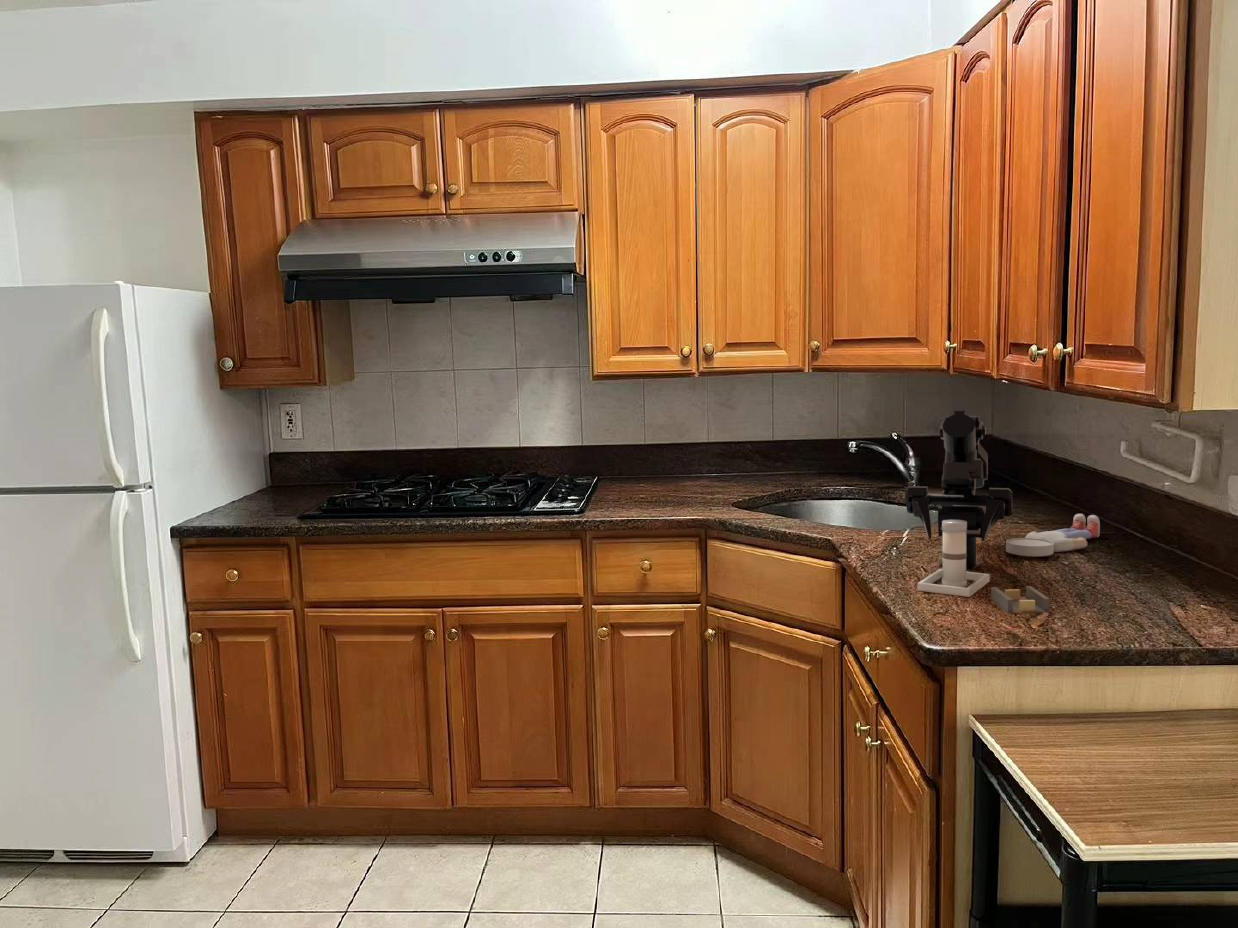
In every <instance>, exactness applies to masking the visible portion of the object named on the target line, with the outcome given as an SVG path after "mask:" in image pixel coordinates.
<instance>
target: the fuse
mask: <svg viewBox="0 0 1238 928" xmlns="http://www.w3.org/2000/svg"><path fill="white" fill-rule="evenodd" d="M942 530H943V536H942V553H941V554H942V555H941V557H942V563H943V567H942V569H943V577H941V585H946V586H954V587H963V588H967V587H968V585H967V584H968V580H967V579H966V572H967V569H966V558H967V552H966V531H967V521H964V520H944V521H942Z"/></svg>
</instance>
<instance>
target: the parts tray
mask: <svg viewBox="0 0 1238 928" xmlns="http://www.w3.org/2000/svg"><path fill="white" fill-rule="evenodd" d="M942 578H943V568H939V569H937V570H935V571H934V572H933V573H931V574H929V575H927V576H926V577H924V579H922V580H920V581H918V582H917V585H916V586H917V591H919V592H927V593H934V594H941V595H942V594H944V595H951V596H960V597H967V598H968V597H969V598H970V597H971V596H972V595H973V594H975V593H977V591H979V590H980V589H982V588H983V587H984V586H985V585H987V584H988V583H990V579H991V575H990V573H983V572H982V573H981V572H973V571H966V579H967V581H974V582H972V583H971V584H970V585H969V586H967V587H966V588H963V587H954V586H946V585H942V584H936V583H935V582H936V581H938V580H940V579H942Z"/></svg>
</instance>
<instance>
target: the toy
mask: <svg viewBox="0 0 1238 928" xmlns="http://www.w3.org/2000/svg"><path fill="white" fill-rule="evenodd" d="M1086 523H1087V525H1086ZM1100 523H1101V522H1100V518H1099V517H1098V516H1097V515H1096V514H1095V515H1094V514H1091V515H1088V516H1087V517H1086V516H1085V514H1083V513H1076V514H1075V515H1074V516H1073V520H1072V526H1070V527H1069V528H1061V529H1059V528H1058V529H1056V530H1049V531H1048V530H1047V531H1046V530H1045V531H1040V532H1037V531H1035V530H1034V531H1030V532H1029V533H1027V534H1026V536H1025V537H1015V538H1009V539H1007V540H1005V552H1007V553H1008V554H1011V555H1015V556H1016V555H1017V556H1024V557H1048V556H1052V555H1053V554H1054V553H1060V552H1069V551H1073V550H1080V549H1084V548H1086V547H1088V541H1087V540H1090V539H1094V538H1095V539H1097V538H1099V536H1100V530H1101V524H1100ZM1096 537H1097V538H1096Z"/></svg>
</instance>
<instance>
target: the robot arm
mask: <svg viewBox="0 0 1238 928" xmlns="http://www.w3.org/2000/svg"><path fill="white" fill-rule="evenodd" d="M953 412H954V413H953V415H949V416H948V415H947V416H946V417H945V418H944V419H945V420H944V421H941V424H940V428H939V436H940V437H939V438H940V439H941V440H943V448H944V450H945V456H944V462H943V466H942V467H943V468H942V476H941V486H940V487H941V490H942V493H929V487H928V486H920V485H919V486H918V485H917V486H915V485H914V486H910V485H909V486H908V487H907V488H906V489H905V494H904V501H905V507H906V512H907V513H909V514H913V517H915V518H920V519H919V520H920V521H921V523H922V524H923V527H924V529H925V532H926V537H928V540H931V539H932V524H931V513H930V505H938V508H937V528H938V529H937V534H938V537H943V530H942V521H944V520H964V521H967V531H966V552H967V558H966V571H967V570H968V571H973V570H975V569H976V568H978V567H979V566H982V564H983V561H982V560H977V538H978V539H979V538H980V539H981V542H985V541H986V539H987V537H988V535H989V533H990V532H991V530H992V528H994V526H995V525H996V524H997V522H998V521H1000V520H1005V517H1010V516H1012V515H1013V491H1012V490H1011V489H1010V488H1009V487H1006V488H1004V487H989V489H988V495H980V494H979V492H978V491H976V490H977V489H980V488H983V487H984V486H985V481H988V475H989V474H988V473H989V471H988V467H989V466H988V465H989V463H988V452H987V451H986V449H985V448H984V447H983V446H982V445H981V443H980V440H983V439H984V438H985V437H984V436H986V433H987V427H986V426H985V424H984V423H983V421H980V416H979V415H967V414H966V410H964V409H963V410H961V409H957V410H954V411H953ZM977 456H978V458H977ZM984 508H985V510H984ZM939 567H940V568H941V567H942V568H943V562H941V563H940V564H939Z"/></svg>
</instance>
